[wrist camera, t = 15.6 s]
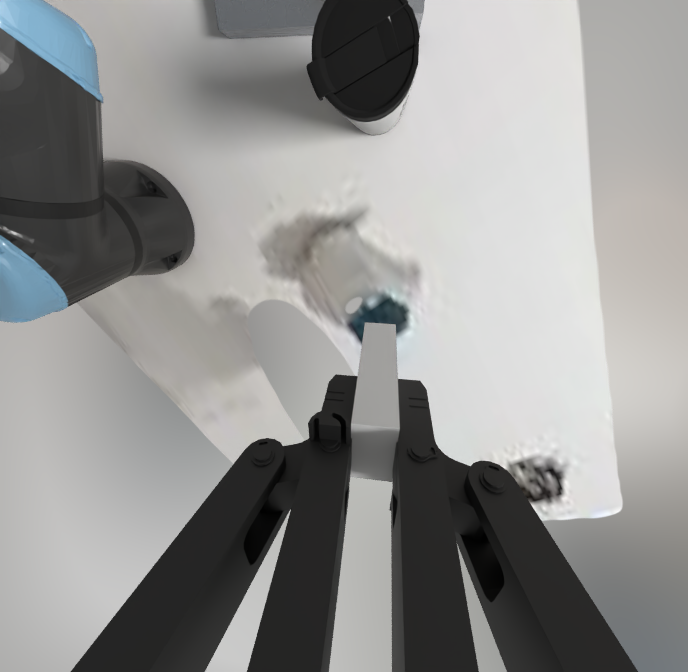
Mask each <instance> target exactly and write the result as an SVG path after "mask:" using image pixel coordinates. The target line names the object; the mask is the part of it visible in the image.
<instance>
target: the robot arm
mask: <svg viewBox="0 0 688 672" xmlns="http://www.w3.org/2000/svg"><path fill="white" fill-rule="evenodd" d="M101 103H103V96H102V95H101V94H100V88H99V77H98V66H97V55H96V51H95V48H94V45H93V43H92V41H91V39H90V38H89V36H88V35H87V33H86V32H85V31H84V29H83V28H82V27H81V26H80V25H79V24H78V23H77V22H76V21H74V20H73V19H72V18H71V17H69V16H68V15H66V14H65V13H63V12H61V11H60V10H58V9H57V8H55V7H53V6H52V5H50V4H48V3H47V2H45V1H43V0H0V321H5V322H16V323H17V322H27V321H31V320H35V319H37V318H40V317H42V316H45V315H47V314H50V313H52V312H58V311H61V310H63V309H65V308H67V307H68V306H70V305H72V304H74V303H76V302H78V301H80V300H82V299H84V298H86V297H88V296H90V295H92V294H94V293H96V292H98V291H100V290H102V289H104V288H106V287H108V286H110V285H112V284H114V283H116V282H118V281H120V280H122V279H124V278H126V277H128V276H135V275H155V274H162V273H166V272H169V271H171V270H173V269H175V268H177V267H178V266H180V265H182V264H183V263H184V262H185V261H186V260H187V259H188V257H189V256H190V254H191V252H192V249H193V246H194V225H193V221H192V217H191V215H190V212H189V210H188V207H187V205H186V203H185V202H184V200H183V198H182V197H181V195H180V194H179V192H178V191H177V190H176V189H175V187H174V186H173V185H172V184H171V183H170V182H169V181H168V180H167V179H166V178H165V177H163V176H162V175H161V174H159V173H158V172H157V171H155V170H154V169H152V168H150V167H148V166H146V165H143V164H141V163H138V162H134V161H107V162H103V148H102V118H101ZM308 427H309V439H308V440H306V441H304V442H302V443H298V444H294V445H288V446H282V444H281V443H280V442H279V441H277V440H275V439H269V438H266V439H260V440H257V441H255V442H253V443H252V444H250V445H249V446H248V447H247V448H246V449H245V450H244V452H243V453H242V454H241V455H240V457H239V458H238V459H237V461H236V462H235V463H234V464H233V466H232V467H231V468H230V470H229V471H228V472H227V473H226V475H225V476H224V477H223V478H222V480H221V481H220V482H219V484H218V485H217V486H216V487H215V489H214V490H213V491H212V492H211V494H210V495H209V496H208V498H207V499H206V500H205V501H204V503H203V504H202V505H201V506H200V508H199V509H198V510H197V511H196V513H195V514H194V515H193V517H192V518H191V519H190V520H189V522H188V523H187V524H186V525H185V527H184V528H183V529H182V531H181V532H180V533H179V535H178V536H177V537H176V538H175V540H174V541H173V542H172V543H171V545H170V546H169V547H168V549H167V550H166V551H165V553H164V554H163V555H162V556H161V557H160V559H159V560H158V561H157V563H156V564H155V565H154V566H153V568H152V569H151V570H150V572H149V573H148V574H147V575H146V576H145V578H144V579H143V580H142V582H141V583H140V584H139V585H138V587H137V588H136V589H135V591H134V592H133V593H132V595H131V596H130V597H129V598H128V599H127V601H126V602H125V603H124V604H123V606H122V607H121V608H120V610H119V611H118V612H117V613H116V615H115V616H114V617H113V618H112V620H111V621H110V622H109V624H108V625H107V626H106V627H105V629H104V630H103V631H102V633H101V634H100V635H99V636H98V638H97V639H96V640H95V641H94V643H93V644H92V645H91V647H90V648H89V649H88V650H87V652H86V653H85V654H84V656H83V657H82V658H81V659H80V661H79V662H78V663H77V664H76V666H75V667H74V668H73V670H72V671H71V672H205V670H206V668H207V666H208V664H209V662H210V661H211V658H212V657H213V655H214V653H215V651H216V649H217V647H218V645H219V643H220V642H221V640H222V638H223V636H224V634H225V632H226V630H227V628H228V626H229V624H230V623H231V621H232V619H233V617H234V615H235V613H236V611H237V609H238V607H239V605H240V604H241V602H242V600H243V598H244V596H245V594H246V592H247V590H248V588H249V586H250V585H251V582H252V581H253V579H254V577H255V575H256V573H257V571H258V569H259V567H260V566H261V564H262V562H263V560H264V558H265V556H266V554H267V552H268V550H269V549H270V546H271V545H272V543H273V541H274V539H275V537H276V535H277V533H278V531H279V530H280V528H281V526H282V524H283V522H284V520H285V518H286V516H287V514H288V512H289V511H290V509H291V512H290V515H289V519H288V523H287V526H286V530H285V534H284V538H283V541H282V545H281V548H280V552H279V556H278V560H277V563H276V567H275V571H274V574H273V578H272V582H271V585H270V590H269V593H268V596H267V600H266V604H265V608H264V611H263V615H262V618H261V622H260V626H259V630H258V633H257V637H256V641H255V644H254V648H253V652H252V655H251V659H250V663H249V666H248V670H247V672H329V664H330V656H331V647H332V638H333V630H334V620H335V611H336V602H337V594H338V586H339V576H340V568H341V559H342V551H343V542H344V533H345V524H346V515H347V507H348V498H349V482H350V477H357V478H365V479H373V480H381V481H389V482H392V479H393V490H392V497H391V503H390V510H391V519H392V520H391V524H392V525H391V529H392V530H391V532H392V535H391V537H392V672H479V671H478V665H477V659H476V653H475V647H474V642H473V636H472V630H471V624H470V618H469V612H468V607H467V601H466V595H465V589H464V583H463V577H462V572H461V566H460V560H459V554H458V548H457V544H458V546H459V549H460V552H461V554H462V557H463V559H464V562H465V565H466V567H467V570H468V572H469V575H470V577H471V580H472V582H473V585H474V588H475V590H476V593H477V595H478V598H479V601H480V603H481V606H482V608H483V611H484V613H485V616H486V618H487V621H488V624H489V626H490V629H491V631H492V634H493V637H494V639H495V642H496V644H497V647H498V649H499V652H500V655H501V657H502V660H503V662H504V665H505V667H506V670H507V672H638V671H637V669H636V668H635V666H634V665H633V663H632V661H631V660H630V659H629V657H628V655H627V654H626V652H625V651H624V649H623V648H622V646H621V644H620V643H619V641H618V640H617V638H616V637H615V635H614V633H613V632H612V630H611V629H610V627H609V626H608V624H607V623H606V621H605V619H604V618H603V616H602V615H601V613H600V612H599V610H598V609H597V607H596V605H595V604H594V602H593V601H592V599H591V598H590V596H589V594H588V593H587V592H586V590H585V588H584V587H583V585H582V584H581V582H580V580H579V579H578V577H577V576H576V574H575V573H574V571H573V570H572V568H571V566H570V565H569V563H568V562H567V560H566V559H565V557H564V556H563V554H562V553H561V551H560V549H559V548H558V546H557V545H556V543H555V541H554V540H553V539H552V537H551V535H550V534H549V532H548V531H547V529H546V528H545V526H544V524H543V523H542V521H541V520H540V518H539V517H538V515H537V513H536V512H535V510H534V509H533V507H532V506H531V504H530V503H529V501H528V499H527V498H526V496H525V495H524V493H523V492H522V490H521V488H520V487H519V485H518V484H517V482H516V481H515V479H514V478H513V477H512V476H511V474H510V473H509V472H508V471H507V470H505V469H504V468H503V467H501V466H500V465H498V464H495V463H492V462H490V461H479V462H475V463H473V464H472V465H471V467H470V466H468V465H465V464H463V463H460V462H458V461H455V460H453V459H451V458H449V457H448V456H446V455H445V454H444V453H443V452H442V451H441V450H440V449H439V448H438V446H437V445H436V442H435V439H434V434H433V427H432V421H431V415H430V409H429V402H428V396H427V390H426V388H425V387H424V386H423V384H422V383H421V381H416V380H404V379H398V372H397V347H396V324H380V323H365V327H364V335H363V342H362V349H361V356H360V363H359V370H358V376H346V375H335V376H334V377H333V378H332V379H331V381H329V384H328V388H327V393H326V395H325V401H324V403H323V407H322V411H321V412H318V413H316V414H315V415H314V416H312V418H311V419H310V421H309V423H308ZM456 541H457V542H456Z"/></svg>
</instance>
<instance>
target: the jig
mask: <svg viewBox="0 0 688 672" xmlns="http://www.w3.org/2000/svg"><path fill="white" fill-rule="evenodd" d="M407 1H408V4H409V5H410V7H411V8H412V9H413V11H414V14H415V17H416V20H417V23H418V29H419V28H420V24H421V20H422V16H423V11H424V1H425V0H407ZM324 2H325V0H214V3H215V9H216V16H217V22H218V29H219V31H221V32H222V33H223V34H225V35H226V36H227V37H229V38H250V37H276V36H301V35H313V32H314V26H315V23H316V20H317V17H318V14H319V12H320V10H321V8H322V6H323V4H324Z"/></svg>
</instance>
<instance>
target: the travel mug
mask: <svg viewBox="0 0 688 672" xmlns="http://www.w3.org/2000/svg"><path fill="white" fill-rule="evenodd" d="M419 37H420V36H419V29H418V23H417V20H416V17H415V14H414V11H413V9H412V8H411V7H410V5H409V4H408V1H407V0H325V2H324V4H323V6H322V8H321V10H320V12H319V14H318V17H317V20H316V23H315V26H314V32H313V38H312V62H311V63H309V64H308V65H307V66H306V67H307V71H308V75H309V78H310V80H311V83H312V86H313V88H314V90H315V93H316V95H317V97H318V98H319V100H320V101H321V100H323V98H322V97H324V96H325V97H326V98H327V99H328V101H329V102H330V103H331V104H332V105H333V106H334V107H335V108H336V109H337V110H338V111H339V112H340V113H341V114H342V115H343V116H344V117H346V118H347V119H348V120H349V121H350V122H352V123H353V124H354V125H355V126H356V127H358V128H359V129H360V130H361V131H363V132H365V133H367V134H370V135H381V134H384V133H386V132H388V131H389V130H391V129H392V128H393V127H394V126H395V125H396V124H397V122H398V121H399V120H400V117H401V115H402V113H403V110H404V108H405V105H406V102H407V99H408V96H409V93H410V90H411V87H412V84H413V81H414V78H415V74H416V69H417V65H418V51H419Z"/></svg>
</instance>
